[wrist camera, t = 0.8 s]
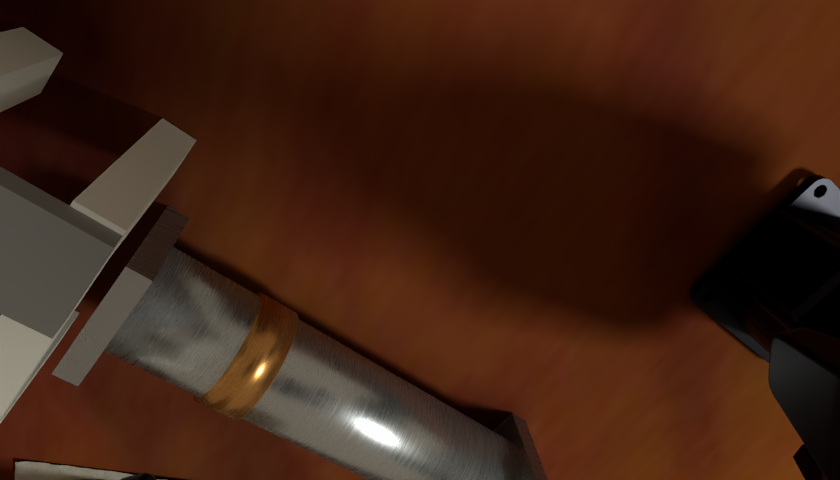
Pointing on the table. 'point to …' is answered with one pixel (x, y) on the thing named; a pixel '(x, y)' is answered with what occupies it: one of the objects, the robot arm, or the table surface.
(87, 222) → the grey staple-shaped bracket
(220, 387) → the air tube
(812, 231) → the robot arm
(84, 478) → the condiment
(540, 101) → the table surface
